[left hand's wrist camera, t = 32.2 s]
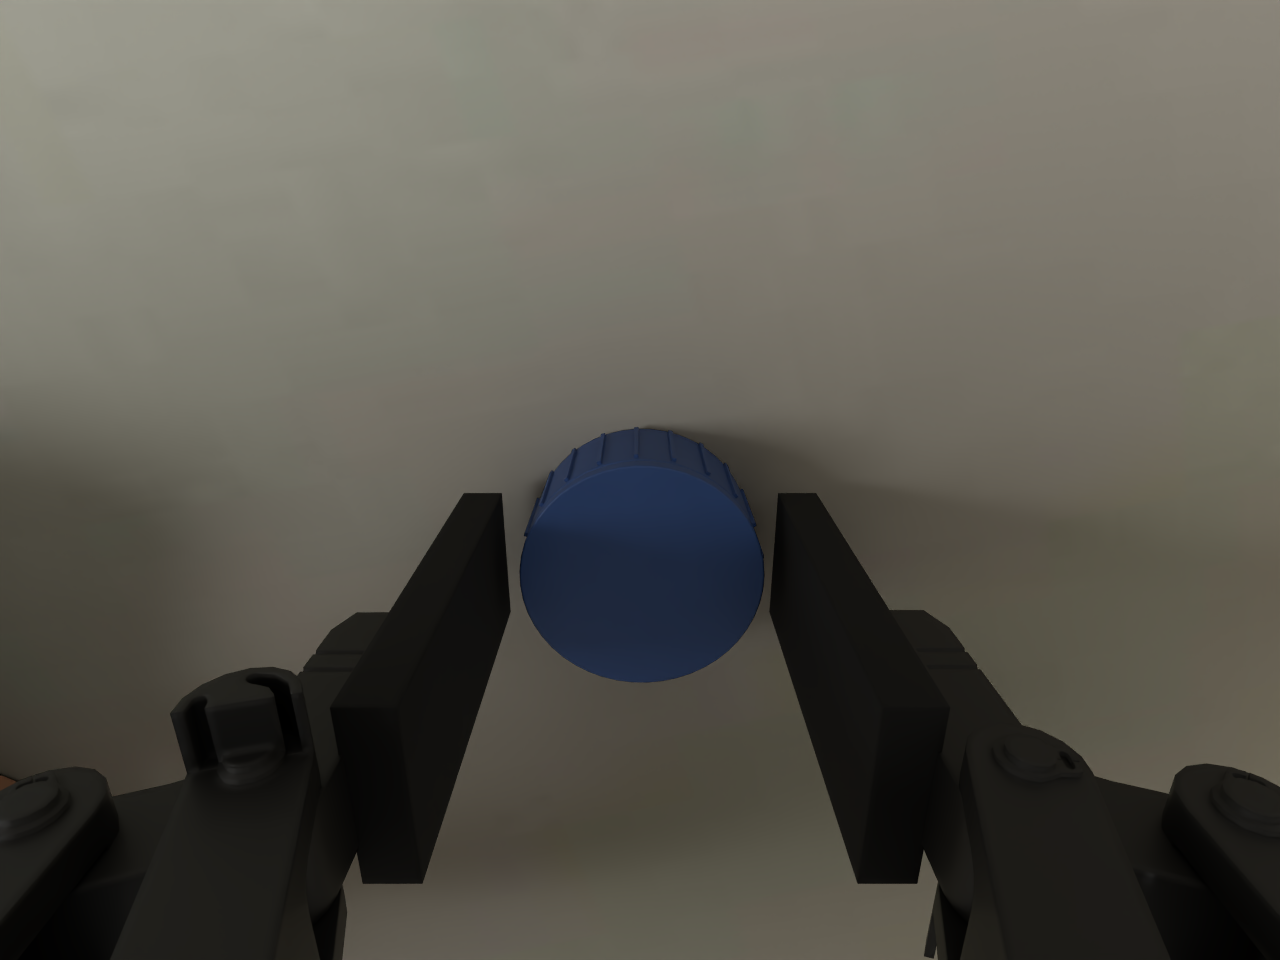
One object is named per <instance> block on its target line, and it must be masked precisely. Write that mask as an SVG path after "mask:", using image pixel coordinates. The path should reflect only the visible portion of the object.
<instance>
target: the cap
mask: <svg viewBox="0 0 1280 960" xmlns="http://www.w3.org/2000/svg"><path fill="white" fill-rule="evenodd" d="M755 526H757V525H756V523H755V520H754V517H753V515H752V512H751V509H750V507H749V504H748V501H747V499H746V496H745V493H744V491H743V489H741V490H740V489H739V487H738V485H737V483H736V481H735V479H734V478H733V476H732V475H731V473H730V471H729V468H728V465H727V464H726V463H724V464H723V463H722V462H721V461H720V460H719V459H718V458H717V457H716V456H715V455H713V454H712V453H711V452H709V451H708V450H707V449H706V448H704V446H703V444H702V443H699V444H697V443H696V442H694V441H692V440H690V439H687V438H685V437H683V436H680V435H677V434H673V432H672V431H670V430H668V432H666V431H660V430H653V429H638V427H634V429H632V430H622V431H618V432H614V433H610V434H606V435H605V433H603V434H601V437H598V438H596V439H594V440H592V441H590V442H588V443H586V444H584V445H582V446H581V447H580V448H578V449H577V450H576V449H575V448H574V449H573V450H572V452H571V454H570V455H569V456H568V457H567V458H566V459H565V460H564V461H563V462H562V463H561V464H560V465H559V466H558V467H557V469H556V470H555V471H554V472H553V471H551V472H550V474H549V477H548V480H547V482H546V485H545V488H544V490H543V492H542V495H541V497H540V498H537V500H536V503H535V506H534V508H533V511H532V514H531V517H530V520H529V522H528V525H527V528H526V531H525V534H524V536H526V537H527V538H526V541H525V544H524V548H523V552H522V555H521V563H520V586H521V591H522V596H523V600H524V603H525V606H526V609H527V612H528V614H529V616H530V618H531V620H532V622H533V624H534V626H535V627H536V628H537V630H538V631H539V633H540V634H541V636H542V637H543V638H544V639H545V640H546V641H547V643H548V644H549V645H550V646H551V647H552V648H553V649H554V650H555V651H557V652H558V653H559V654H560V655H561V656H563V657H564V658H565V659H567V660H568V661H570V662H571V663H573V664H575V665H576V666H578V667H580V668H582V669H584V670H586V671H588V672H591V673H594V674H596V675H599V676H602V677H606V678H610V679H614V680H619V681H627V682H657V681H665V680H670V679H674V678H678V677H681V676H684V675H688V674H691V673H693V672H695V671H697V670H699V669H702V668H704V667H706V666H707V665H709V664H711V663H712V662H714V661H716V660H717V659H718V658H720V657H721V656H722V655H723V654H725V653H726V652H727V651H729V650H730V649H731V648H732V647H733V645H734V644H735V643H736V642H737V641H738V640H739V639H740V638H741V637H742V635H743V634H744V633H745V631H746V630H747V629H748V627H749V625H750V623H751V622H752V620H753V618H754V616H755V614H756V611H757V609H758V606H759V604H760V600H761V596H762V592H763V585H764V560H763V558H764V554H763V552H762V549H761V546H760V543H759V541H758V538H757V535H756V532H755V530H754V527H755Z"/></svg>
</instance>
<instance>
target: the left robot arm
mask: <svg viewBox="0 0 1280 960" xmlns="http://www.w3.org/2000/svg"><path fill="white" fill-rule="evenodd" d="M510 612H511V611H510V598H509V584H508V571H507V557H506V544H505V530H504V517H503V503H502V493H464V494H463V496H462V497H461V499H460V500H459V502H458V504H457V505H456V507H455V508H454V510H453V511H452V513H451V515H450V516H449V518H448V519H447V521H446V523H445V524H444V526H443V527H442V529H441V531H440V532H439V534H438V535H437V537H436V539H435V540H434V542H433V543H432V545H431V547H430V548H429V550H428V551H427V553H426V555H425V556H424V558H423V559H422V561H421V563H420V564H419V566H418V567H417V569H416V571H415V572H414V574H413V575H412V577H411V578H410V580H409V582H408V583H407V585H406V586H405V588H404V590H403V591H402V593H401V594H400V596H399V598H398V599H397V601H396V602H395V604H394V606H393V607H392V609H391V610H390V612H357V613H355V614H354V615H352V616H351V617H349V618H348V619H347V620H345V621H344V622H342V623H341V624H339V625H338V626H336V627H335V628H333V629H332V630H331V631H330V632H329V634H328V635H327V636H326V638H325V639H324V640H323V642H322V643H321V644H320V646H319V647H318V648H317V650H316V655H312V657H311V658H310V659H309V661H308V662H307V663H306V665H305V666H304V667H303V668H304V670H303V672H300V673H299V674H298V676H296V675H295V674H294V673H292V672H291V671H288V670H284V669H279V668H275V667H264V668H249V669H245V670H241V671H237V672H233V673H229V674H225V675H223V676H221V677H218V678H216V679H214V680H212V681H209V682H207V683H205V684H203V685H201V686H200V687H198V688H197V689H195V690H194V691H192V692H191V693H189V694H188V695H187V696H185V697H184V698H182V700H181V701H180V702H179V703H178V704H177V706H176V707H175V708H174V709H173V711H172V712H171V713H170V715H171V718H172V722H173V725H174V729H175V732H176V736H177V739H178V743H179V746H180V750H181V753H182V757H183V760H184V764H185V767H186V771H187V776H186V778H185V780H181V781H178V782H175V783H171V784H167V785H163V786H158V787H154V788H149V789H145V790H140V791H136V792H132V793H127V794H123V795H118V796H114V797H112V795H111V792H110V789H109V786H108V783H107V780H106V778H105V777H104V776H103V775H101V774H100V773H99V772H98V771H96V770H95V769H89V768H81V767H69V768H63V769H56V770H49V771H46V772H43V773H40V774H36V775H34V776H30V777H28V778H25V779H23V780H20V781H18V782H16V783H14V784H12V785H10V786H8V787H6V788H5V789H3V790H1V791H0V960H342V956H343V947H344V937H345V928H346V918H347V908H346V901H345V895H344V890H343V885H342V884H343V881H344V879H345V877H346V875H347V872H348V870H349V868H350V866H351V863H352V861H353V859H354V857H355V854H356V852H357V855H358V861H359V866H360V871H361V877H362V882H363V884H422V883H423V880H424V877H425V874H426V871H427V868H428V865H429V862H430V858H431V855H432V852H433V849H434V846H435V843H436V840H437V837H438V834H439V831H440V828H441V825H442V821H443V818H444V815H445V812H446V809H447V806H448V803H449V800H450V797H451V794H452V791H453V788H454V784H455V781H456V778H457V775H458V772H459V769H460V766H461V763H462V760H463V757H464V754H465V751H466V747H467V744H468V741H469V738H470V735H471V732H472V729H473V726H474V723H475V720H476V717H477V714H478V710H479V707H480V704H481V701H482V698H483V695H484V692H485V689H486V686H487V683H488V680H489V677H490V673H491V670H492V667H493V664H494V661H495V658H496V655H497V652H498V649H499V646H500V643H501V640H502V636H503V633H504V630H505V627H506V624H507V621H508V618H509V615H510ZM769 612H770V615H771V618H772V621H773V624H774V627H775V630H776V633H777V636H778V639H779V643H780V646H781V649H782V652H783V655H784V658H785V661H786V664H787V667H788V670H789V673H790V676H791V680H792V683H793V686H794V689H795V692H796V695H797V698H798V701H799V704H800V707H801V710H802V714H803V717H804V720H805V723H806V726H807V729H808V732H809V735H810V738H811V741H812V744H813V747H814V751H815V754H816V757H817V760H818V763H819V766H820V769H821V772H822V775H823V778H824V781H825V784H826V788H827V791H828V794H829V797H830V800H831V803H832V806H833V809H834V812H835V815H836V818H837V821H838V825H839V828H840V831H841V834H842V837H843V840H844V843H845V846H846V849H847V852H848V855H849V858H850V862H851V865H852V868H853V871H854V874H855V877H856V880H857V883H858V884H917V882H918V877H919V872H920V866H921V861H922V856H923V850H924V851H925V853H926V855H927V858H928V860H929V862H930V864H931V867H932V869H933V871H934V873H935V876H936V878H937V880H938V885H937V890H936V895H935V900H934V905H933V910H932V915H931V920H930V925H929V930H928V935H927V940H926V946H925V953H924V956H925V957H929V958H933V959H934V955H935V950H936V945H937V954H938V960H1280V787H1279V786H1277V785H1275V784H1273V783H1271V782H1269V781H1267V780H1266V779H1264V778H1262V777H1259V776H1256V775H1254V774H1251V773H1247V772H1245V771H1242V770H1238V769H1235V768H1232V767H1226V766H1219V765H1212V764H1199V765H1191V766H1186V767H1185V768H1183V769H1182V770H1181V771H1180V772H1178V773H1177V774H1176V775H1175V777H1174V780H1173V783H1172V786H1171V789H1170V792H1169V794H1167V793H1162V792H1158V791H1153V790H1149V789H1144V788H1140V787H1135V786H1131V785H1126V784H1122V783H1117V782H1113V781H1109V780H1106V779H1102V778H1099V777H1095V776H1094V774H1093V772H1092V771H1091V770H1090V768H1089V767H1088V765H1087V764H1086V762H1085V761H1084V759H1083V758H1082V757H1081V756H1080V755H1079V754H1078V753H1076V752H1075V751H1074V750H1073V749H1071V748H1070V747H1069V746H1068V745H1066V744H1065V743H1064V742H1063V741H1061V740H1059V739H1057V738H1054V737H1052V736H1050V735H1048V734H1046V733H1044V732H1042V731H1040V730H1037V729H1033V728H1030V727H1026V726H1023V725H1021V723H1020V722H1019V721H1018V719H1017V718H1016V717H1015V715H1014V714H1013V713H1012V711H1011V710H1010V709H1009V707H1008V706H1007V705H1006V703H1005V702H1004V701H1003V699H1002V698H1001V697H1000V695H999V694H998V692H997V691H996V690H995V688H994V687H993V686H992V684H991V683H990V682H989V680H988V679H987V678H986V676H985V675H984V674H983V672H982V671H981V670H980V669H977V664H976V663H975V662H974V660H973V659H972V658H971V656H970V655H969V654H968V652H965V651H964V647H963V645H962V644H961V643H960V641H959V640H958V639H957V637H956V636H955V635H954V633H953V632H952V631H951V629H950V628H949V627H947V626H946V625H945V624H943V623H942V622H940V621H939V620H937V619H936V618H934V617H933V616H931V615H930V614H928V613H927V612H925V611H924V610H889V609H888V607H887V606H886V604H885V602H884V601H883V599H882V598H881V596H880V594H879V593H878V591H877V590H876V588H875V586H874V585H873V583H872V582H871V580H870V578H869V577H868V575H867V574H866V572H865V570H864V569H863V567H862V566H861V564H860V562H859V561H858V559H857V558H856V556H855V555H854V553H853V551H852V550H851V548H850V547H849V545H848V543H847V542H846V540H845V539H844V537H843V535H842V534H841V532H840V531H839V529H838V527H837V526H836V524H835V523H834V521H833V519H832V518H831V516H830V515H829V513H828V511H827V510H826V508H825V507H824V505H823V503H822V502H821V500H820V499H819V497H818V496H817V494H816V493H778V503H777V517H776V530H775V544H774V557H773V571H772V584H771V598H770V611H769Z"/></svg>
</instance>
